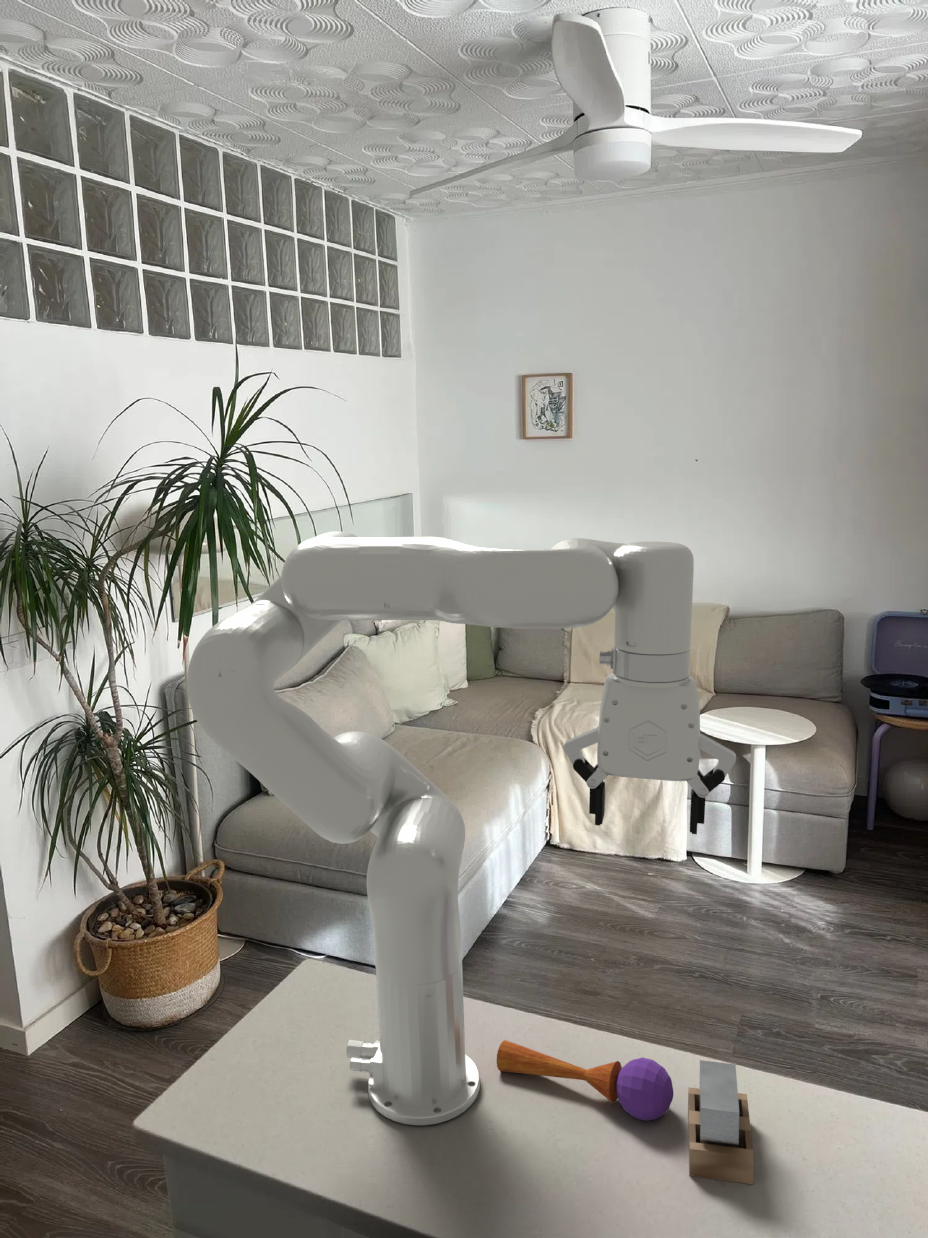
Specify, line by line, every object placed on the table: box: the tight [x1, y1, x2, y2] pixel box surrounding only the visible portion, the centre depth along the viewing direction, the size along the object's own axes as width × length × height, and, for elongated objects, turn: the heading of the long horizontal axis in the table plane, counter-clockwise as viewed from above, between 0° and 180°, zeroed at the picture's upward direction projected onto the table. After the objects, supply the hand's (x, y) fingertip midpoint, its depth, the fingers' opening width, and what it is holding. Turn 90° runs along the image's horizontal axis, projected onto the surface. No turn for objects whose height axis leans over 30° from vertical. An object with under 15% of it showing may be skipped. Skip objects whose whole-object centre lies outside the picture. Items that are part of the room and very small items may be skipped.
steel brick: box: [698, 1060, 739, 1148], centre depth 95 cm, size 4×7×7 cm, turn 167°
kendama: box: [496, 1039, 674, 1122], centre depth 103 cm, size 6×6×20 cm
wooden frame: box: [687, 1086, 755, 1185], centre depth 95 cm, size 6×9×3 cm, turn 168°
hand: (645, 824), depth 97 cm, fingers open, 9 cm apart
